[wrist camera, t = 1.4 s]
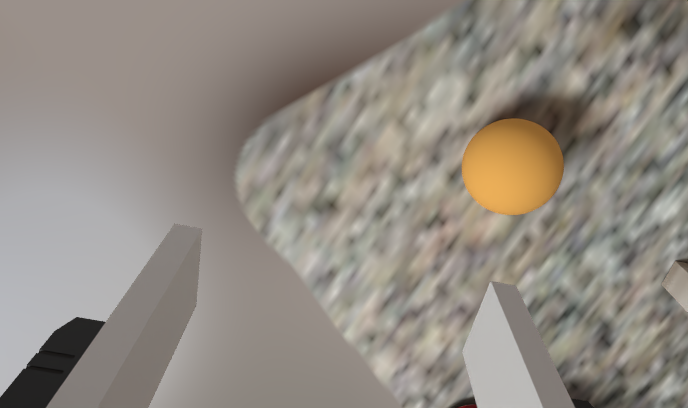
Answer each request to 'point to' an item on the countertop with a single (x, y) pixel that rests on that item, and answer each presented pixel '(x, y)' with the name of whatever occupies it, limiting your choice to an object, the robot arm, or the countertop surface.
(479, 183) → the ball
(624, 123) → the countertop surface
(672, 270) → the bridge
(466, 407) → the soda can
